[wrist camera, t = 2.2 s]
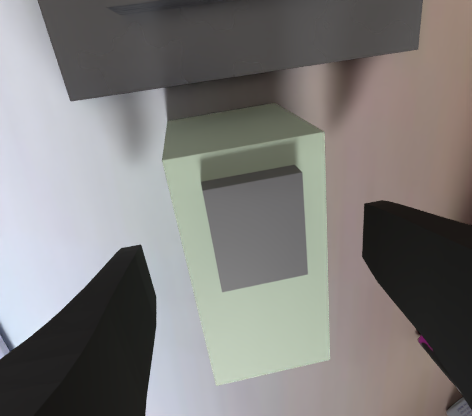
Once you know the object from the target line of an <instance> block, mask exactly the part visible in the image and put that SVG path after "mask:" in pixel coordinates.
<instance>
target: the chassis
mask: <svg viewBox="0 0 472 416" xmlns="http://www.w3.org/2000/svg"><path fill="white" fill-rule="evenodd" d="M38 3H39V6H40V9H41V12H42V15H43V18H44V22H45V25H46V28H47V31H48V34H49V37H50V40H51V43H52V46H53V49H54V52H55V55H56V58H57V62H58V65H59V68H60V71H61V74H62V77H63V80H64V83H65V86H66V89H67V92H68V95H69V98H70V101H77V100H83V99H90V98H97V97H103V96H110V95H117V94H124V93H130V92H137V91H144V90H150V89H157V88H164V87H170V86H177V85H184V84H190V83H197V82H204V81H210V80H217V79H224V78H231V77H237V76H244V75H251V74H257V73H264V72H271V71H277V70H284V69H291V68H297V67H304V66H311V65H317V64H324V63H331V62H338V61H344V60H351V59H358V58H364V57H371V56H378V55H384V54H391V53H398V52H404V51H411V50H418V45H419V34H420V24H421V13H422V3H423V0H38Z"/></svg>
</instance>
